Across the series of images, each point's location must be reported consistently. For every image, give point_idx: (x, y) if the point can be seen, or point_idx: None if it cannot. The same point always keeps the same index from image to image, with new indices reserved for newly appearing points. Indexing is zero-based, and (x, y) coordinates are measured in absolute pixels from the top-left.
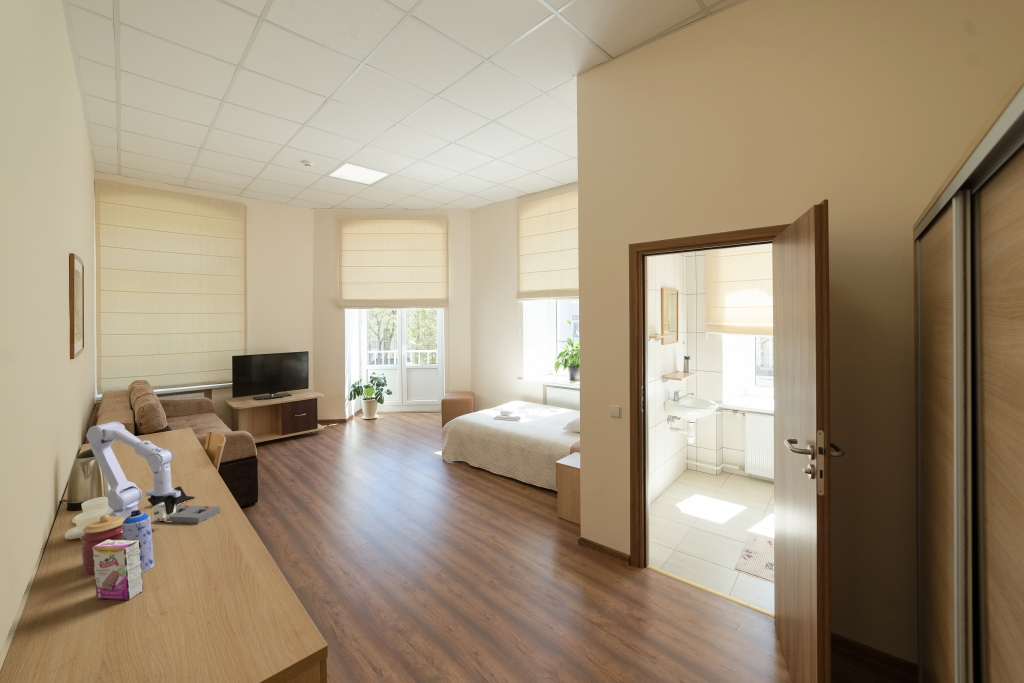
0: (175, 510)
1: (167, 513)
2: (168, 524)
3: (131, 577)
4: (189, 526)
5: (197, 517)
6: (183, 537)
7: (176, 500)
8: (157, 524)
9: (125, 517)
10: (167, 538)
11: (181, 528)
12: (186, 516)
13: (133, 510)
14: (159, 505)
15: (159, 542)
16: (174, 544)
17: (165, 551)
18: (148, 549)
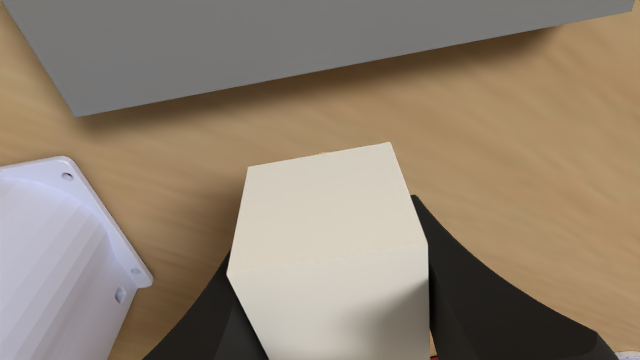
0: (394, 158)
1: None
2: (279, 97)
3: None
4: (528, 68)
5: (615, 8)
6: (618, 198)
7: (520, 293)
8: (179, 125)
9: (73, 350)
10: (509, 231)
11: (482, 115)
12: (442, 28)
13: (25, 350)
14: (332, 358)
15: (500, 267)
16: (619, 258)
17: (620, 302)
18: None
